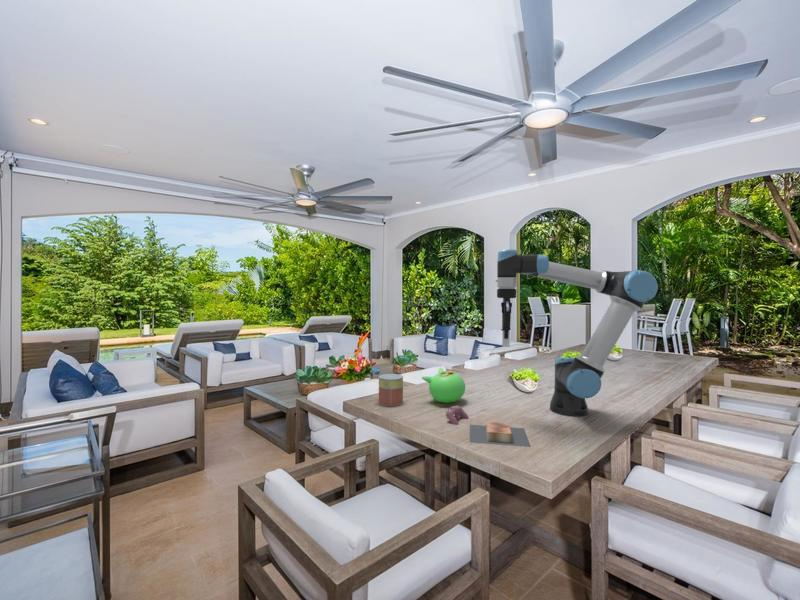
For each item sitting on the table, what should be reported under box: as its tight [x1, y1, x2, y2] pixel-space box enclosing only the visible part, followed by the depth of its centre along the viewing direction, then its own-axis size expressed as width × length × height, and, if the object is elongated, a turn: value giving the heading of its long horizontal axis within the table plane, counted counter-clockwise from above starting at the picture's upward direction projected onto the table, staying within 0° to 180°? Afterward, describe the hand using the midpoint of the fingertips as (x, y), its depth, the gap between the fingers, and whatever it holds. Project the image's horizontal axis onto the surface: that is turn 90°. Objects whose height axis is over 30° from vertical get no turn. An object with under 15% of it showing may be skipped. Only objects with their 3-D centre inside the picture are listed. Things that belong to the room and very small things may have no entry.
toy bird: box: [421, 367, 466, 404], centre depth 180 cm, size 18×17×15 cm
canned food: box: [378, 373, 404, 407], centre depth 179 cm, size 11×11×12 cm
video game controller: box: [445, 405, 469, 426], centre depth 154 cm, size 10×5×7 cm, turn 142°
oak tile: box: [485, 421, 512, 442], centre depth 138 cm, size 8×3×10 cm
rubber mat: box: [469, 424, 532, 448], centre depth 139 cm, size 20×17×1 cm
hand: (505, 346), depth 157 cm, fingers closed
